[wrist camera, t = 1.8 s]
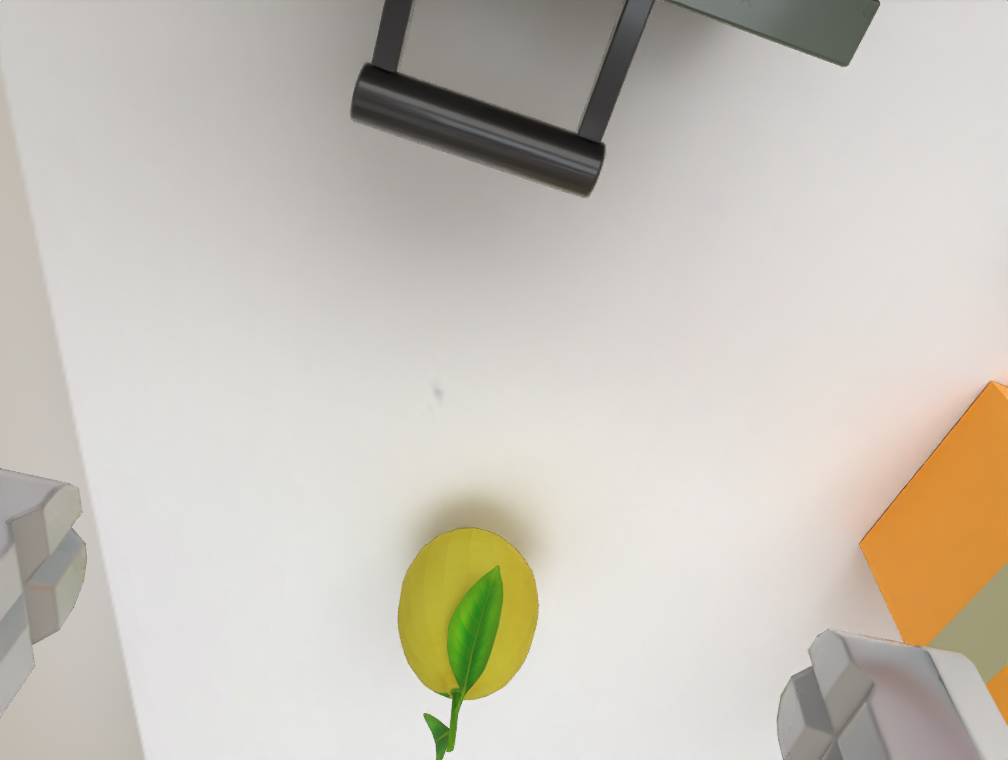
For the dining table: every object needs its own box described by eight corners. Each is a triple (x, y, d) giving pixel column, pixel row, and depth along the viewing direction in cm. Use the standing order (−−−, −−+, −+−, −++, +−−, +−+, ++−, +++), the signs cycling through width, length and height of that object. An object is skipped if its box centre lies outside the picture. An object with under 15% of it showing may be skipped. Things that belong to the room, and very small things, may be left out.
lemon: (455, 611, 37) (425, 827, 29) (376, 531, 35) (317, 740, 26) (578, 556, 35) (585, 773, 26) (502, 467, 32) (482, 672, 24)
